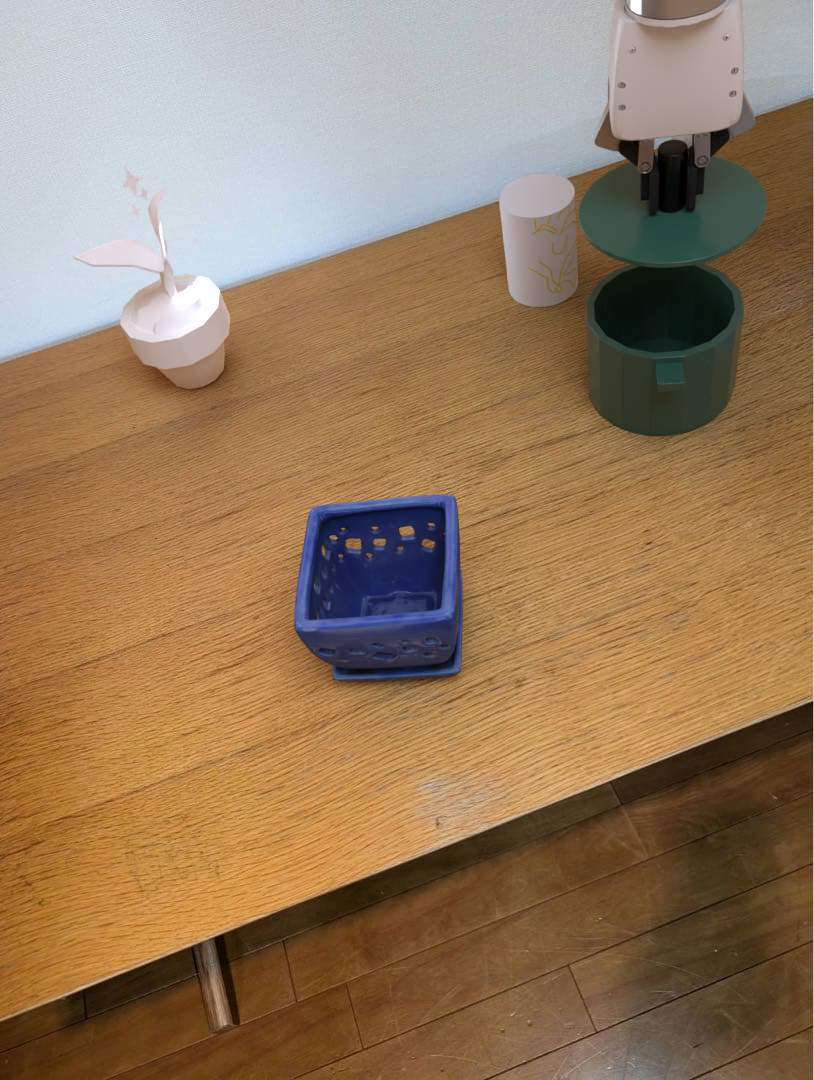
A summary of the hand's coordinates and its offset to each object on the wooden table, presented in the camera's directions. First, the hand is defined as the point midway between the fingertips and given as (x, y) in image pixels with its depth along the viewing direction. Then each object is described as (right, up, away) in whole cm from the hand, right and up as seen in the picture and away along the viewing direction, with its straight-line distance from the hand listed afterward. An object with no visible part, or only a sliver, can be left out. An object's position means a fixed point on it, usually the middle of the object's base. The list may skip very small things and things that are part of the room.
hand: (670, 201), depth 86 cm
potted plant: (-48, -10, +32) cm, 58 cm away
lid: (0, 0, +1) cm, 1 cm away
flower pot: (-23, -38, +4) cm, 45 cm away
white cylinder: (-7, +1, +31) cm, 32 cm away
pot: (+4, -13, +18) cm, 22 cm away
